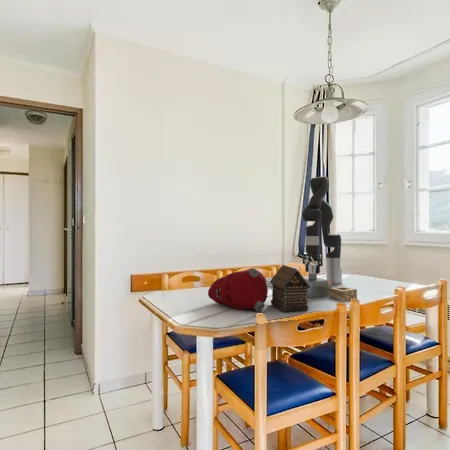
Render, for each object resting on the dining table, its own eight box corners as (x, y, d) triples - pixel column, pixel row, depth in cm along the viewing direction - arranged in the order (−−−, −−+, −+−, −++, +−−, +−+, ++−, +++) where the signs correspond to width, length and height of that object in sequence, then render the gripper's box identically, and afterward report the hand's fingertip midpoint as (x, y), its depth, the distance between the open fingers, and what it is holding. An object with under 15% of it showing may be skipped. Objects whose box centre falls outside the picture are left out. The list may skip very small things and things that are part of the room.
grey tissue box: (325, 290, 204) (325, 275, 204) (339, 294, 193) (339, 278, 193) (297, 294, 195) (297, 278, 195) (311, 298, 185) (311, 281, 185)
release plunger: (327, 290, 200) (327, 280, 200) (332, 291, 196) (332, 281, 196) (322, 291, 198) (322, 281, 198) (327, 292, 195) (327, 282, 195)
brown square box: (343, 295, 192) (343, 286, 192) (357, 298, 183) (356, 289, 183) (329, 297, 188) (329, 288, 188) (343, 300, 179) (342, 291, 179)
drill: (313, 288, 195) (312, 263, 195) (316, 289, 192) (316, 264, 192) (308, 288, 193) (308, 264, 193) (312, 289, 190) (312, 264, 190)
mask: (198, 275, 171) (243, 269, 151) (233, 269, 190) (276, 263, 170) (204, 316, 169) (250, 316, 149) (238, 305, 188) (283, 304, 168)
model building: (311, 311, 159) (310, 268, 158) (282, 313, 156) (281, 269, 156) (295, 302, 176) (295, 263, 176) (269, 304, 174) (268, 264, 173)
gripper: (326, 244, 188) (326, 273, 188) (309, 243, 200) (309, 270, 201) (315, 245, 184) (315, 274, 184) (299, 243, 197) (299, 271, 197)
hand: (312, 272), depth 193 cm, fingers open, 8 cm apart
